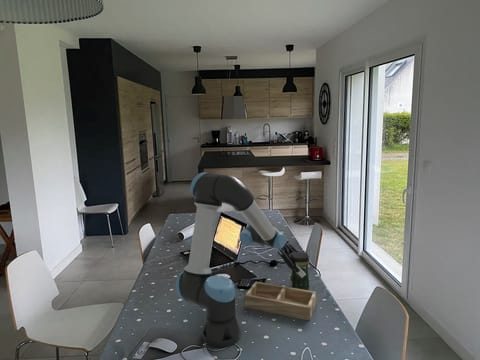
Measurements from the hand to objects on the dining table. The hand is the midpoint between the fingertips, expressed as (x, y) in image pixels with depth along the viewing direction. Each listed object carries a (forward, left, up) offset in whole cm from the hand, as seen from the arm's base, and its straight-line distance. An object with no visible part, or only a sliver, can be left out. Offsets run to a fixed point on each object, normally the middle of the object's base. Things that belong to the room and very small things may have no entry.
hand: (305, 272), depth 178 cm
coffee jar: (0, +3, -9) cm, 9 cm away
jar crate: (-20, +7, -9) cm, 23 cm away
